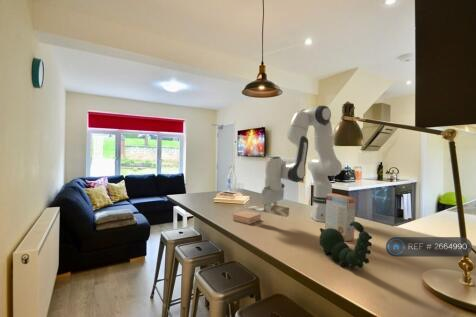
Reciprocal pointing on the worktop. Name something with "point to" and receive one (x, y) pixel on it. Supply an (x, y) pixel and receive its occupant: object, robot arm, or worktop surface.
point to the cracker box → (340, 214)
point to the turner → (275, 210)
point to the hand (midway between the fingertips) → (271, 210)
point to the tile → (246, 217)
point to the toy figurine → (346, 246)
